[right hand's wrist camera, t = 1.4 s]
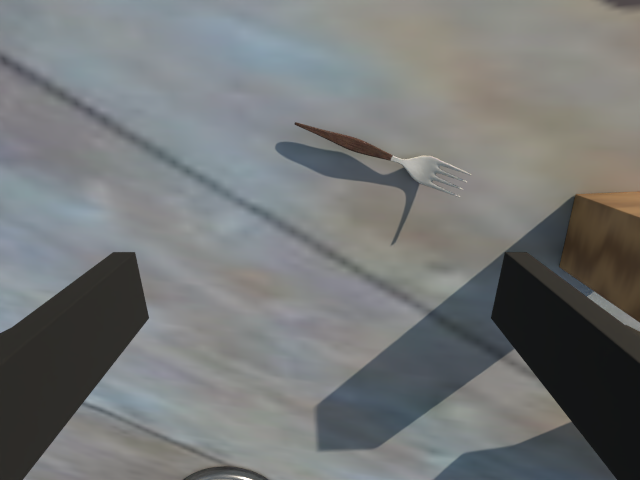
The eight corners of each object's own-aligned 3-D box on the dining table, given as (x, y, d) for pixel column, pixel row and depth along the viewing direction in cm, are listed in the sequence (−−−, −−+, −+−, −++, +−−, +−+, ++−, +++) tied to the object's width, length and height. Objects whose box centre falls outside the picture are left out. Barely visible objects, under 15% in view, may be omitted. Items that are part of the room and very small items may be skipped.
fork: (299, 107, 31) (298, 108, 29) (463, 168, 33) (472, 172, 31) (290, 137, 32) (288, 139, 30) (451, 194, 34) (458, 199, 32)
